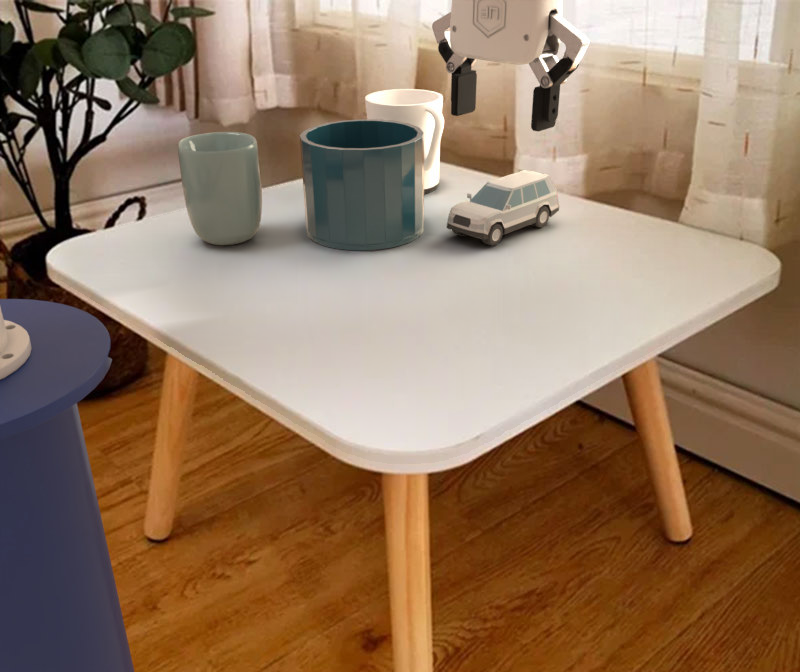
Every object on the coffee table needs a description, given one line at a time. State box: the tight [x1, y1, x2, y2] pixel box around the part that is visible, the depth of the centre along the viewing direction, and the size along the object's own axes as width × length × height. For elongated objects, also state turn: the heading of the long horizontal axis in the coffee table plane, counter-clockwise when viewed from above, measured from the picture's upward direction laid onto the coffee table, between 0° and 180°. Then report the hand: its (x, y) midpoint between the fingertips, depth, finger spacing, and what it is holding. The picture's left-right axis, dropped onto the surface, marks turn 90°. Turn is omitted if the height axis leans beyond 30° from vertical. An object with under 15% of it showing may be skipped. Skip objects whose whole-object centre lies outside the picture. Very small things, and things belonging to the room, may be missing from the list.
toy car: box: [446, 169, 560, 246], centre depth 97 cm, size 6×13×5 cm, turn 134°
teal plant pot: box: [299, 118, 425, 251], centre depth 96 cm, size 12×12×10 cm
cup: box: [177, 131, 263, 246], centre depth 94 cm, size 8×8×10 cm
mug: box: [364, 88, 445, 195], centre depth 109 cm, size 11×9×10 cm
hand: (502, 120), depth 92 cm, fingers open, 9 cm apart
